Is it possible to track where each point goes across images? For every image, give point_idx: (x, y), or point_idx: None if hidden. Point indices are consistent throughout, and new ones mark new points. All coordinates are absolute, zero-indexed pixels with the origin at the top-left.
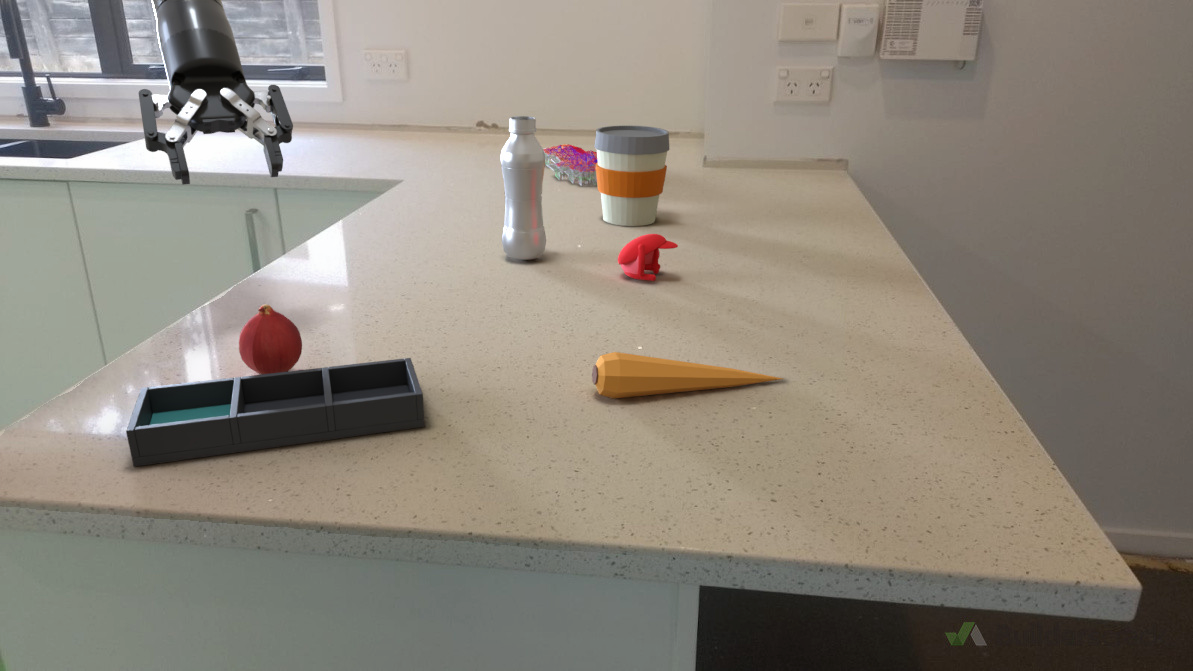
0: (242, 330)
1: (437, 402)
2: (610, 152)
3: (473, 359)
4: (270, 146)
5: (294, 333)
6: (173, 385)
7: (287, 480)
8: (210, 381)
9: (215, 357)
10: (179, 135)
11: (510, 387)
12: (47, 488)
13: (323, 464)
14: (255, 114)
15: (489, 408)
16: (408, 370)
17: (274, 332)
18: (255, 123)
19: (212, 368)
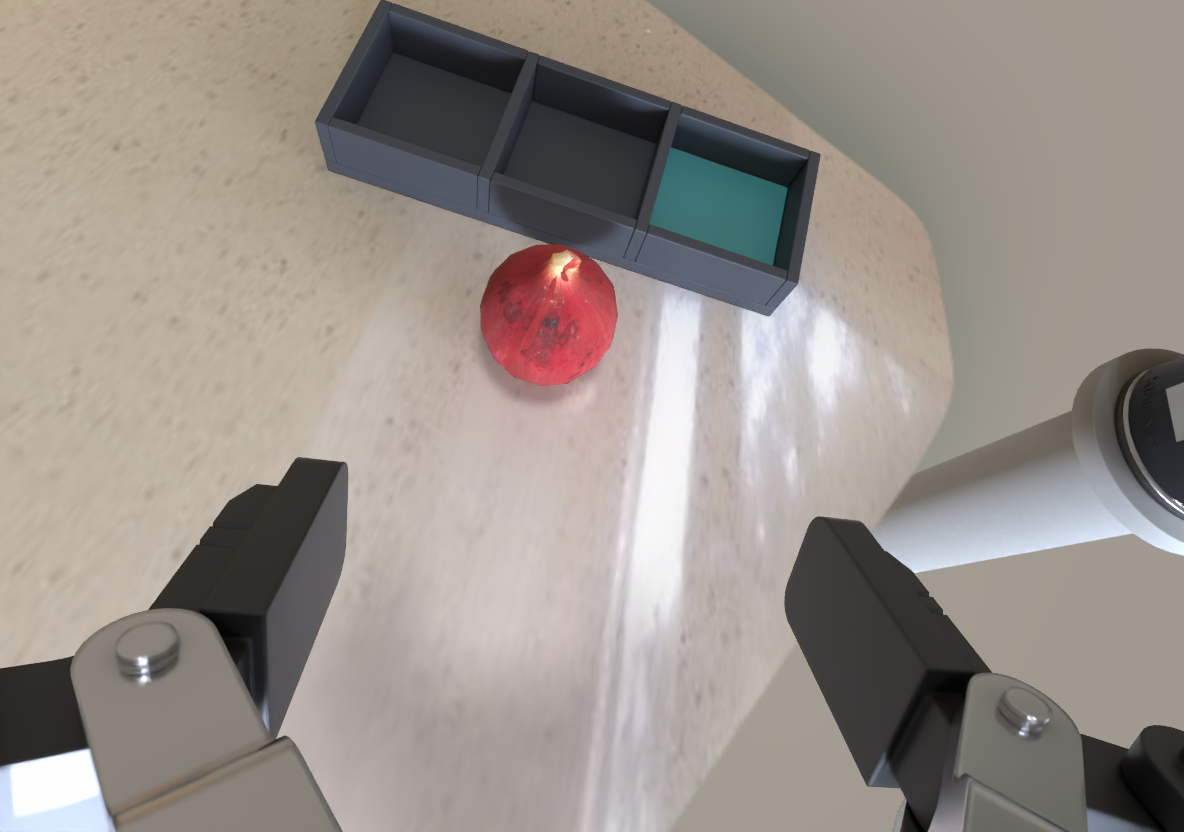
0: (610, 310)
1: (320, 104)
2: None
3: (132, 208)
4: (265, 545)
5: (505, 260)
6: (747, 262)
7: (618, 53)
8: (687, 241)
9: (622, 536)
10: (973, 714)
11: (165, 72)
12: (889, 206)
13: (564, 57)
14: (190, 791)
15: (257, 39)
16: (351, 80)
17: (555, 244)
18: (254, 744)
19: (639, 477)
